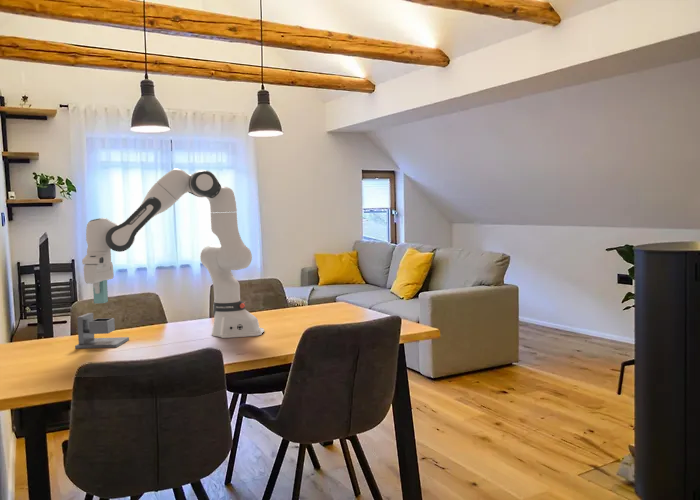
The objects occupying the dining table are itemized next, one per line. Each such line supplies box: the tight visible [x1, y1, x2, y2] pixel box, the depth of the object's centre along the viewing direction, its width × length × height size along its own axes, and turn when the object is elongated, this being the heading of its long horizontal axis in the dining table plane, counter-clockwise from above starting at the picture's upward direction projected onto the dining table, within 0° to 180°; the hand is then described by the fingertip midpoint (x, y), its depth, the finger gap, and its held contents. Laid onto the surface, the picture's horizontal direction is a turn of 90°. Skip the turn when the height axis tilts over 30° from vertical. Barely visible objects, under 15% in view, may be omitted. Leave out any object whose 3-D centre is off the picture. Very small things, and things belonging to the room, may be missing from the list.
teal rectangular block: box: [92, 280, 109, 304], centre depth 228 cm, size 4×4×9 cm
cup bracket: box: [74, 312, 130, 350], centre depth 229 cm, size 16×14×12 cm
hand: (100, 292), depth 228 cm, fingers closed on teal rectangular block, 4 cm apart
